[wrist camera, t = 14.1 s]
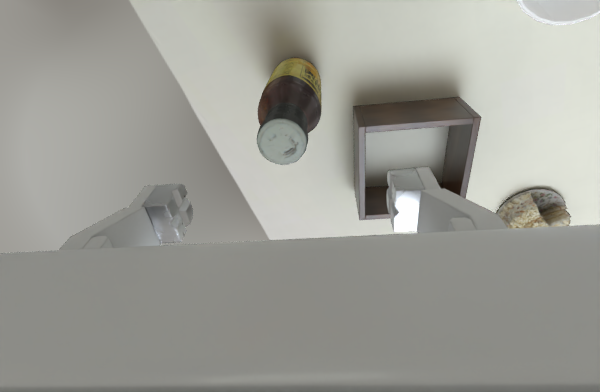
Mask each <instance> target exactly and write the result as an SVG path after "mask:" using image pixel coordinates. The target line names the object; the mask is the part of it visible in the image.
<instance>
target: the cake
mask: <svg viewBox="0 0 600 392" xmlns="http://www.w3.org/2000/svg"><path fill="white" fill-rule="evenodd" d="M565 209H567V208H566V205H565V201H564V200H563V198H562V197H561V195H559V194H557V193H556V192H553V191H551V190H545V189H543V190H542V189H536V190H529V191H525V192H523V193H519V194H518V195H515V196H514V197H512V198H511V199H509V200H507V201H506V202H505V203H504V204H503V205H502V206H501V207H500V209H499V211H498V212H497V214H498V215H499V216H500V218H501V219H502V220H503V222H504V223H505V225H506V226H507V228H508V229H514V228H534V227H556V226H569V224H570V217H571V216H570V214H569V213H568V212H567V211H565Z"/></svg>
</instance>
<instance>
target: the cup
mask: <svg viewBox="0 0 600 392" xmlns="http://www.w3.org/2000/svg"><path fill="white" fill-rule="evenodd" d="M516 1H517V3H518V4H519V6H520V7H521V9H522V10H523V12H525V13H526V14H527V15H529V16H530V17H531V18H533V19H534V20H536V21H538V22H542V23H546V24H549V25H570V24H573V23H577V22H580V21H584V20H587V19H590V18H592V17H594V16H596V15H597V14H599V13H600V0H516Z"/></svg>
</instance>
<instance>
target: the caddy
mask: <svg viewBox="0 0 600 392" xmlns="http://www.w3.org/2000/svg"><path fill="white" fill-rule="evenodd" d="M480 120H481V117H480V116H479V115H478V114H477V113H476V112H475V111H474V110H473V109H472V108H471V107H470V106H469V105H468V104H467V103H466V102H465V101H463V100H462V99H461V98H460V97H455V98H443V99H431V100H420V101H408V102H396V103H385V104H373V105H362V106H353V128H354V179H355V197H356V202H357V208H358V214H359V220H370V219H387V218H391V214H389V212H388V208H387V189H388V188H389V186H378V187H365V132H366V133H367V132H380V131H392V130H405V129H417V128H430V127H442V126H450V127H449V134H448V141H447V148H446V155H445V162H444V169H443V176H442V183H441V182H439V183H438V184H439V186H440V188H441V189H447V190H449V191H451V192H453V193H455V194H457V195H459V196H461V197H463V198H466V193H467V188H468V182H469V177H470V172H471V167H472V162H473V157H474V151H475V146H476V141H477V136H478V131H479V126H480Z"/></svg>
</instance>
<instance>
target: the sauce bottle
mask: <svg viewBox="0 0 600 392" xmlns="http://www.w3.org/2000/svg"><path fill="white" fill-rule="evenodd" d="M320 116H321V80H320V76H319V73H318V71H317V70H316V68H315V67H314V66H313V65H312V63H310V62H308V61H306V60H304V59H300V58H290V59H287V60H285V61H282V62H281V63H280V64H279V65H278V66H277V67H276V68H275V70H274V72H273V74H272V75H271V77H270V79H269V81H268V83H267V85H266V87H265V89H264V91H263V93H262V96H261V99H260V102H259V106H258V119H259V123H260V125H261V126H260V128H259V131H258V135H257V144H258V148H259V150H260V152H261V154H262V155H263V156H264V157H265V158H266V159H267V160H269V161H271V162H273V163H275V164H280V165H284V164H290V163H294V162H296V161H297V160H298V159H299V158H300V157H301V156H302V155H303V154H304V152H305V150H306V147H307V143H308V133H309V132H310V131H312V130H313V129H314V128H315V127H316V126H317V124H318V122H319V120H320Z"/></svg>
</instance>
